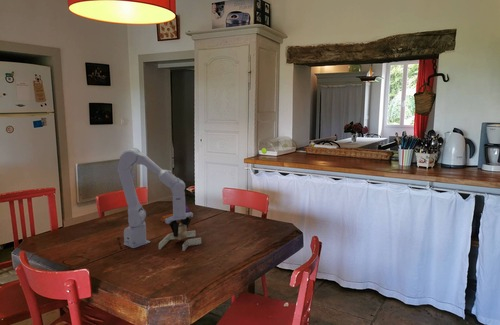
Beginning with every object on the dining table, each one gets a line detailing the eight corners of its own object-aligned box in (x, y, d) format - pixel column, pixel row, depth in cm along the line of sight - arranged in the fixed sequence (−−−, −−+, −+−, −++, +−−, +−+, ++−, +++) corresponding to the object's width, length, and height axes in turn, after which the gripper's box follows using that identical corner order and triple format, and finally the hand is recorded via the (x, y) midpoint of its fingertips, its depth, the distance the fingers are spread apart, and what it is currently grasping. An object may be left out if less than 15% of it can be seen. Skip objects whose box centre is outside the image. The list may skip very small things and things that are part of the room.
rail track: (174, 255, 155) (173, 248, 154) (149, 246, 165) (149, 240, 164) (210, 240, 172) (210, 234, 172) (186, 233, 182) (185, 227, 182)
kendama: (157, 214, 202) (183, 204, 218) (160, 224, 202) (185, 213, 218) (164, 214, 198) (190, 203, 214) (167, 224, 199) (192, 213, 215)
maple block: (179, 240, 166) (178, 227, 165) (173, 237, 169) (173, 225, 168) (186, 237, 169) (186, 225, 169) (181, 235, 172) (180, 223, 172)
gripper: (171, 211, 159) (172, 241, 161) (196, 205, 170) (197, 232, 172) (162, 208, 164) (163, 237, 166) (187, 202, 175) (188, 229, 176)
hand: (180, 234), depth 169 cm, fingers closed on maple block, 4 cm apart
